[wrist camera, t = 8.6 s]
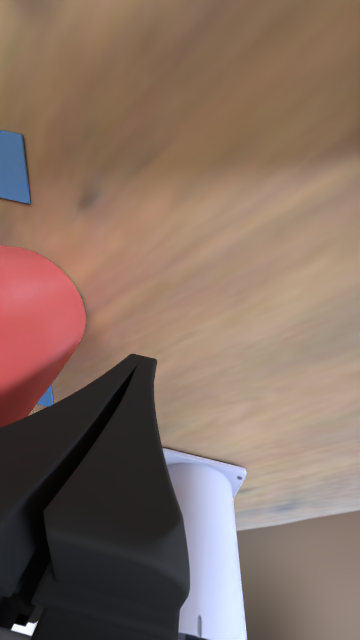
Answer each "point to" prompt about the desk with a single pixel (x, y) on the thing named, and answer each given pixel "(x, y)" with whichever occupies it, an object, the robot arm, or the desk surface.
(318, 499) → the desk surface
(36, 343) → the flower pot
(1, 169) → the tape lane
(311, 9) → the desk surface
